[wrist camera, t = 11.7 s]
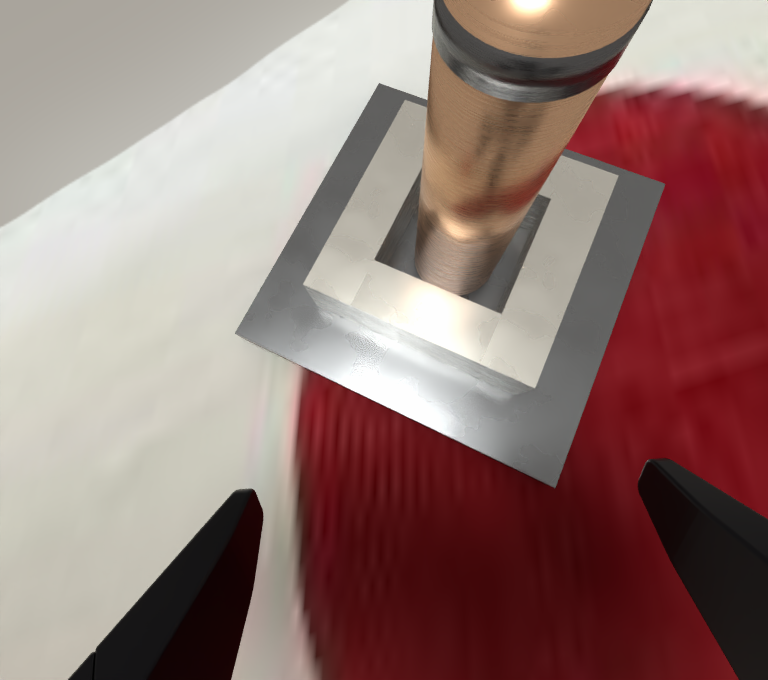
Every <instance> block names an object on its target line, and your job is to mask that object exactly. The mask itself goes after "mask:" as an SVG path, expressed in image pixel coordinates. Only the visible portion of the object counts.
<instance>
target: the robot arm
mask: <svg viewBox="0 0 768 680" xmlns="http://www.w3.org/2000/svg"><path fill="white" fill-rule="evenodd" d="M638 490H639V494H640V496H641V498H642V500H643V503H644V505H645V507H646V509H647V511H648V513H649V516H650V518H651V520H652V522H653V524H654V526H655V529H656V531H657V533H658V535H659V537H660V539H661V542H662V544H663V546H664V548H665V550H666V552H667V554H668V556H669V558H670V560H671V562H672V564H673V566H674V568H675V570H676V571H677V573H678V575H679V577H680V578H681V580H682V582H683V584H684V585H685V587H686V589H687V591H688V592H689V594H690V596H691V597H692V599H693V601H694V603H695V604H696V606H697V608H698V610H699V611H700V613H701V615H702V616H703V618H704V620H705V622H706V623H707V625H708V627H709V629H710V630H711V632H712V634H713V635H714V637H715V639H716V641H717V642H718V644H719V646H720V648H721V649H722V651H723V653H724V654H725V656H726V658H727V660H728V661H729V663H730V665H731V667H732V668H733V670H734V672H735V673H736V675H737V677H738V679H739V680H768V519H767V518H765V517H763V516H762V515H760V514H758V513H757V512H755V511H754V510H752V509H750V508H749V507H747V506H745V505H744V504H742V503H741V502H739V501H737V500H736V499H734V498H732V497H731V496H729V495H728V494H726V493H724V492H723V491H721V490H719V489H718V488H716V487H715V486H713V485H711V484H710V483H708V482H706V481H705V480H703V479H701V478H700V477H698V476H697V475H695V474H693V473H692V472H690V471H688V470H687V469H685V468H684V467H682V466H680V465H679V464H677V463H675V462H674V461H672V460H670V459H667V458H659V459H649V460H648V461H646V463H645V465H644V468H643V471H642V473H641V476H640V478H639V481H638ZM262 525H263V510H262V507H261V505H260V502H259V500H258V497H257V494H256V492H255V491H254V490H253V489H239V490H236V491H234V492H233V493H232V494H231V495H230V497H229V498H228V499H227V500H226V501H225V502H224V503H223V504H222V506H221V507H220V508H219V509H218V510H217V511H216V512H215V514H214V515H213V516H212V517H211V518H210V519H209V520H208V522H207V523H206V524H205V525H204V526H203V527H202V528H201V529H200V531H199V532H198V533H197V534H196V535H195V536H194V537H193V539H192V540H191V541H190V542H189V543H188V544H187V545H186V546H185V548H184V549H183V550H182V551H181V552H180V553H179V554H178V556H177V557H176V558H175V559H174V560H173V561H172V562H171V563H170V565H169V566H168V567H167V568H166V569H165V570H164V571H163V573H162V574H161V575H160V576H159V577H158V578H157V579H156V581H155V582H154V583H153V584H152V585H151V586H150V587H149V588H148V590H147V591H146V592H145V593H144V594H143V595H142V596H141V598H140V599H139V600H138V601H137V602H136V603H135V604H134V605H133V607H132V608H131V609H130V610H129V611H128V612H127V613H126V615H125V616H124V617H123V618H122V619H121V620H120V621H119V622H118V624H117V625H116V626H115V627H114V628H113V629H112V630H111V632H110V633H109V634H108V635H107V636H106V637H105V638H104V640H103V641H102V642H101V643H100V644H99V645H98V646H97V648H96V651H95V652H92V653H91V654H90V655H89V656H88V657H87V659H86V660H85V661H84V662H83V663H82V664H81V665H80V667H79V668H78V669H77V670H76V671H75V672H74V673H73V674H72V676H71V677H70V678H69V679H68V680H231V678H232V674H233V670H234V666H235V662H236V657H237V653H238V649H239V645H240V641H241V637H242V633H243V629H244V625H245V621H246V617H247V613H248V609H249V605H250V601H251V596H252V592H253V587H254V581H255V574H256V567H257V560H258V553H259V546H260V539H261V532H262Z"/></svg>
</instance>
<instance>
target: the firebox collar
mask: <svg viewBox="0 0 768 680" xmlns="http://www.w3.org/2000/svg"><path fill="white" fill-rule="evenodd" d="M427 101H428V100H425V99H422V98H420V97H417V96H414V95H411V94H408V93H405V92H403V91H400V90H397V89H394V88H391V87H388V86H385V85H383V84H380V83H379V84H378V86H377V88H376V90H375V91H374V93H373V95H372V97H371V98H370V100H369V102H368V104H367V105H366V107H365V109H364V110H363V112H362V114H361V116H360V117H359V119H358V121H357V123H356V124H355V126H354V128H353V130H352V131H351V133H350V135H349V136H348V138H347V140H346V142H345V143H344V145H343V147H342V149H341V150H340V152H339V154H338V156H337V157H336V159H335V161H334V162H333V164H332V166H331V168H330V169H329V171H328V173H327V175H326V176H325V178H324V180H323V182H322V183H321V185H320V187H319V188H318V190H317V192H316V194H315V195H314V197H313V199H312V201H311V202H310V204H309V206H308V208H307V209H306V211H305V213H304V214H303V216H302V218H301V220H300V221H299V223H298V225H297V227H296V228H295V230H294V232H293V234H292V235H291V237H290V239H289V240H288V242H287V244H286V246H285V247H284V249H283V251H282V253H281V254H280V256H279V258H278V260H277V261H276V263H275V265H274V266H273V268H272V270H271V272H270V273H269V275H268V277H267V279H266V280H265V282H264V284H263V286H262V287H261V289H260V291H259V292H258V294H257V296H256V298H255V299H254V301H253V303H252V305H251V306H250V308H249V310H248V312H247V313H246V315H245V317H244V318H243V320H242V322H241V324H240V325H239V327H238V329H237V331H236V332H235V334H237V335H238V336H240V337H242V338H244V339H246V340H248V341H250V342H252V343H254V344H256V345H258V346H260V347H262V348H265V349H267V350H269V351H271V352H273V353H275V354H277V355H279V356H281V357H283V358H285V359H287V360H289V361H291V362H294V363H296V364H298V365H300V366H302V367H304V368H306V369H308V370H310V371H312V372H314V373H316V374H318V375H320V376H323V377H325V378H327V379H329V380H331V381H333V382H335V383H337V384H339V385H341V386H343V387H345V388H347V389H349V390H352V391H354V392H356V393H358V394H360V395H362V396H364V397H366V398H368V399H370V400H372V401H374V402H376V403H378V404H381V405H383V406H385V407H387V408H389V409H391V410H393V411H395V412H397V413H399V414H401V415H403V416H405V417H407V418H410V419H412V420H414V421H416V422H418V423H420V424H422V425H424V426H426V427H428V428H430V429H432V430H434V431H436V432H439V433H441V434H443V435H445V436H447V437H449V438H451V439H453V440H455V441H457V442H459V443H461V444H463V445H465V446H468V447H470V448H472V449H474V450H476V451H478V452H480V453H482V454H484V455H486V456H488V457H490V458H492V459H494V460H497V461H499V462H501V463H503V464H505V465H507V466H509V467H511V468H513V469H515V470H517V471H519V472H521V473H523V474H526V475H528V476H530V477H532V478H534V479H536V480H538V481H540V482H542V483H544V484H546V485H549V486H551V487H554V488H556V485H557V482H558V479H559V476H560V474H561V471H562V468H563V465H564V463H565V460H566V457H567V454H568V452H569V449H570V446H571V443H572V440H573V438H574V435H575V432H576V429H577V427H578V424H579V421H580V418H581V416H582V413H583V410H584V407H585V405H586V402H587V399H588V396H589V393H590V391H591V388H592V385H593V382H594V380H595V377H596V374H597V371H598V369H599V366H600V363H601V360H602V357H603V355H604V352H605V349H606V346H607V344H608V341H609V338H610V335H611V333H612V330H613V327H614V324H615V321H616V319H617V316H618V313H619V310H620V308H621V305H622V302H623V299H624V297H625V294H626V291H627V288H628V286H629V283H630V280H631V277H632V274H633V272H634V269H635V266H636V263H637V261H638V258H639V255H640V252H641V250H642V247H643V244H644V241H645V238H646V236H647V233H648V230H649V227H650V225H651V222H652V219H653V216H654V214H655V211H656V208H657V205H658V202H659V200H660V197H661V194H662V191H663V189H664V186H665V184H664V183H661V182H658V181H655V180H653V179H650V178H647V177H644V176H641V175H638V174H636V173H633V172H630V171H627V170H624V169H621V168H619V167H616V166H613V165H610V164H607V163H604V162H601V161H599V160H596V159H593V158H590V157H587V156H584V155H582V154H579V153H576V152H573V151H570V150H567V149H564V151H563V153H562V154H561V156H560V158H559V159H558V161H557V163H556V165H555V166H554V168H553V170H552V171H551V173H550V175H549V177H548V178H547V180H546V182H545V183H544V185H543V187H542V189H541V190H540V192H539V194H538V195H537V197H536V199H535V201H534V202H533V204H532V206H531V207H530V209H529V211H528V212H527V214H526V216H525V218H524V219H523V221H522V223H521V224H520V226H519V228H518V230H517V231H516V233H515V235H514V236H513V238H512V240H511V242H510V243H509V245H508V247H507V248H506V250H505V252H504V254H503V255H502V257H501V259H500V260H499V262H498V264H497V266H496V267H495V269H494V271H493V272H492V274H491V276H490V277H489V279H488V280H487V282H486V283H485V284H484V285H483V286H482V287H480V288H479V289H477V290H475V291H473V292H471V293H468V294H464V295H455V294H453V293H451V292H448V291H446V290H444V289H441V288H439V287H436V286H434V285H432V284H429V283H427V282H425V281H423V280H422V279H421V277H420V276H419V274H418V272H417V269H416V266H415V245H416V233H417V221H418V209H419V197H420V185H421V173H422V161H423V149H424V137H425V125H426V113H427Z"/></svg>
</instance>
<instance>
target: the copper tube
mask: <svg viewBox="0 0 768 680" xmlns="http://www.w3.org/2000/svg"><path fill="white" fill-rule="evenodd" d="M652 1H653V0H434V3H433V16H432V32H433V41H432V53H431V65H430V77H429V89H428V101H427V113H426V125H425V137H424V149H423V161H422V173H421V185H420V197H419V209H418V221H417V233H416V245H415V266H416V269H417V272H418V274H419V276H420V277H421V279H422V280H423V281H425V282H427V283H429V284H432V285H434V286H436V287H439V288H441V289H444V290H446V291H448V292H451V293H453V294H455V295H464V294H468V293H471V292H473V291H475V290H477V289H479V288H480V287H482V286H483V285H484V284H485V283H486V282H487V280H488V279H489V277H490V276H491V274H492V272H493V271H494V269H495V267H496V266H497V264H498V262H499V260H500V259H501V257H502V255H503V254H504V252H505V250H506V248H507V247H508V245H509V243H510V242H511V240H512V238H513V236H514V235H515V233H516V231H517V230H518V228H519V226H520V224H521V223H522V221H523V219H524V218H525V216H526V214H527V212H528V211H529V209H530V207H531V206H532V204H533V202H534V201H535V199H536V197H537V195H538V194H539V192H540V190H541V189H542V187H543V185H544V183H545V182H546V180H547V178H548V177H549V175H550V173H551V171H552V170H553V168H554V166H555V165H556V163H557V161H558V159H559V158H560V156H561V154H562V153H563V151H564V149H565V147H566V146H567V144H568V142H569V141H570V139H571V137H572V135H573V134H574V132H575V130H576V129H577V127H578V125H579V124H580V122H581V120H582V118H583V117H584V115H585V113H586V112H587V110H588V108H589V106H590V105H591V103H592V101H593V100H594V98H595V96H596V94H597V93H598V91H599V89H600V88H601V86H602V84H603V82H604V81H605V79H606V77H607V76H608V74H609V73H610V72H611V71H612V69H613V68H614V67H615V66H616V64H617V63H618V61H619V59H620V58H621V56H622V54H623V53H624V51H625V49H626V48H627V46H628V44H629V43H630V41H631V39H632V38H633V36H634V34H635V32H636V31H637V29H638V27H639V26H640V24H641V22H642V21H643V19H644V17H645V16H646V14H647V12H648V10H649V8H650V6H651V3H652Z"/></svg>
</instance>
